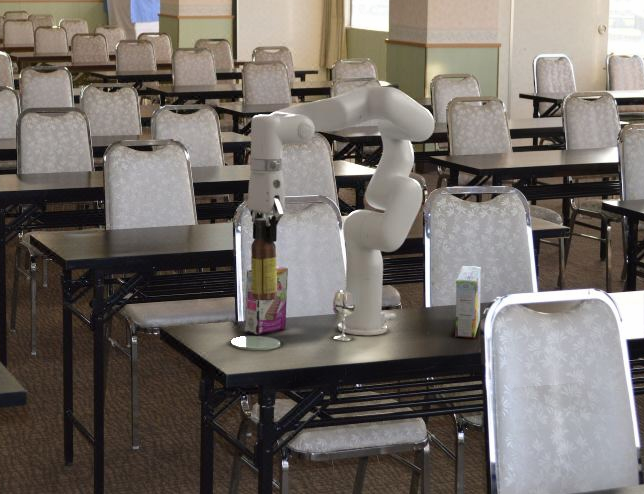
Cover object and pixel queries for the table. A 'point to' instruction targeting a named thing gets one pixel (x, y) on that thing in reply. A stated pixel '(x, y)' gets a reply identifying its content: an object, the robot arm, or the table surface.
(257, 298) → the sauce bottle
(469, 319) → the snack box
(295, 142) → the robot arm
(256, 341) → the coaster
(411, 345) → the table surface
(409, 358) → the table surface
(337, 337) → the wineglass
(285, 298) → the candy bar box
